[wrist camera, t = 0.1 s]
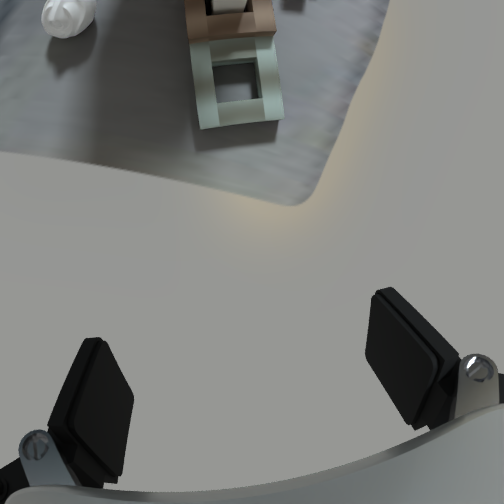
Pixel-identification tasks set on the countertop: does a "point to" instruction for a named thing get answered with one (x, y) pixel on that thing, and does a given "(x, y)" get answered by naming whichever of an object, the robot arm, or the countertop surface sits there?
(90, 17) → the white round lump
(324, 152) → the countertop surface
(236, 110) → the socket block
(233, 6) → the peg
